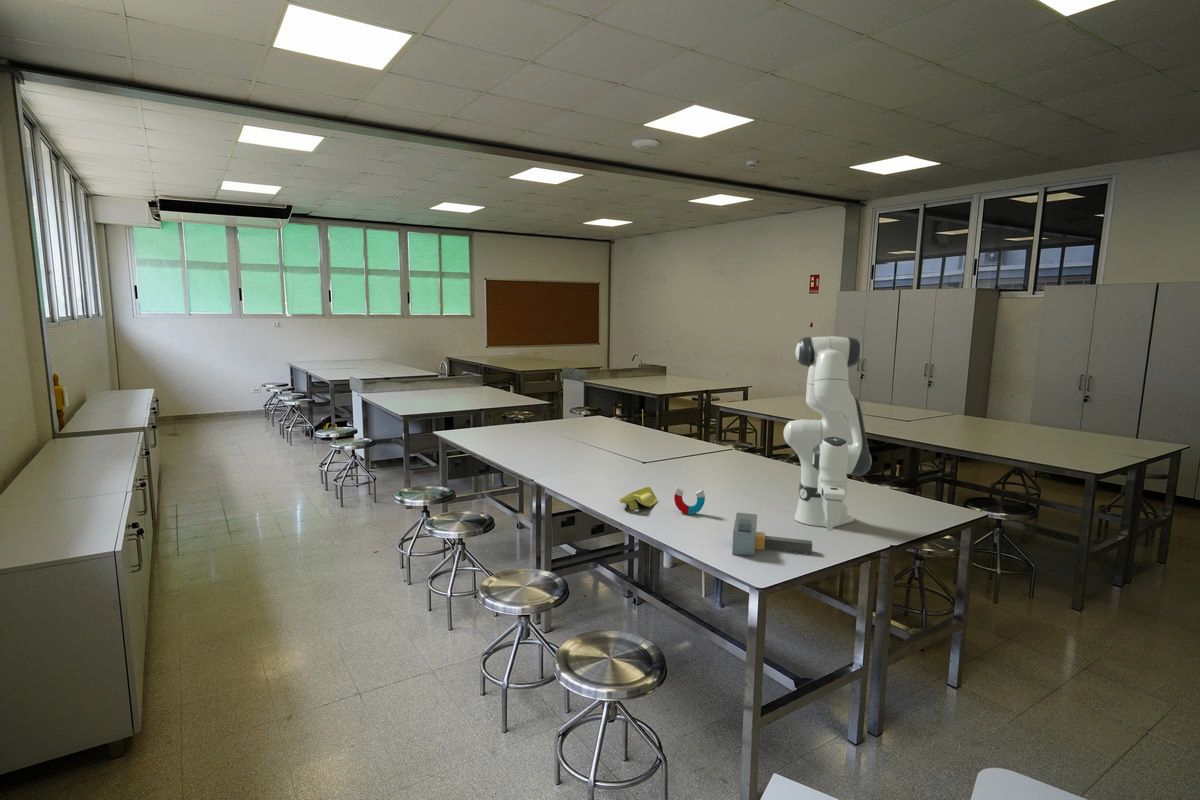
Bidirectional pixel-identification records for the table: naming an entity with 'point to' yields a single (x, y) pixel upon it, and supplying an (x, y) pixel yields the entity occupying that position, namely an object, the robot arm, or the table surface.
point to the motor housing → (744, 534)
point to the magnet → (686, 508)
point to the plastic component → (640, 498)
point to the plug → (782, 544)
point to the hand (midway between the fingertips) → (829, 529)
